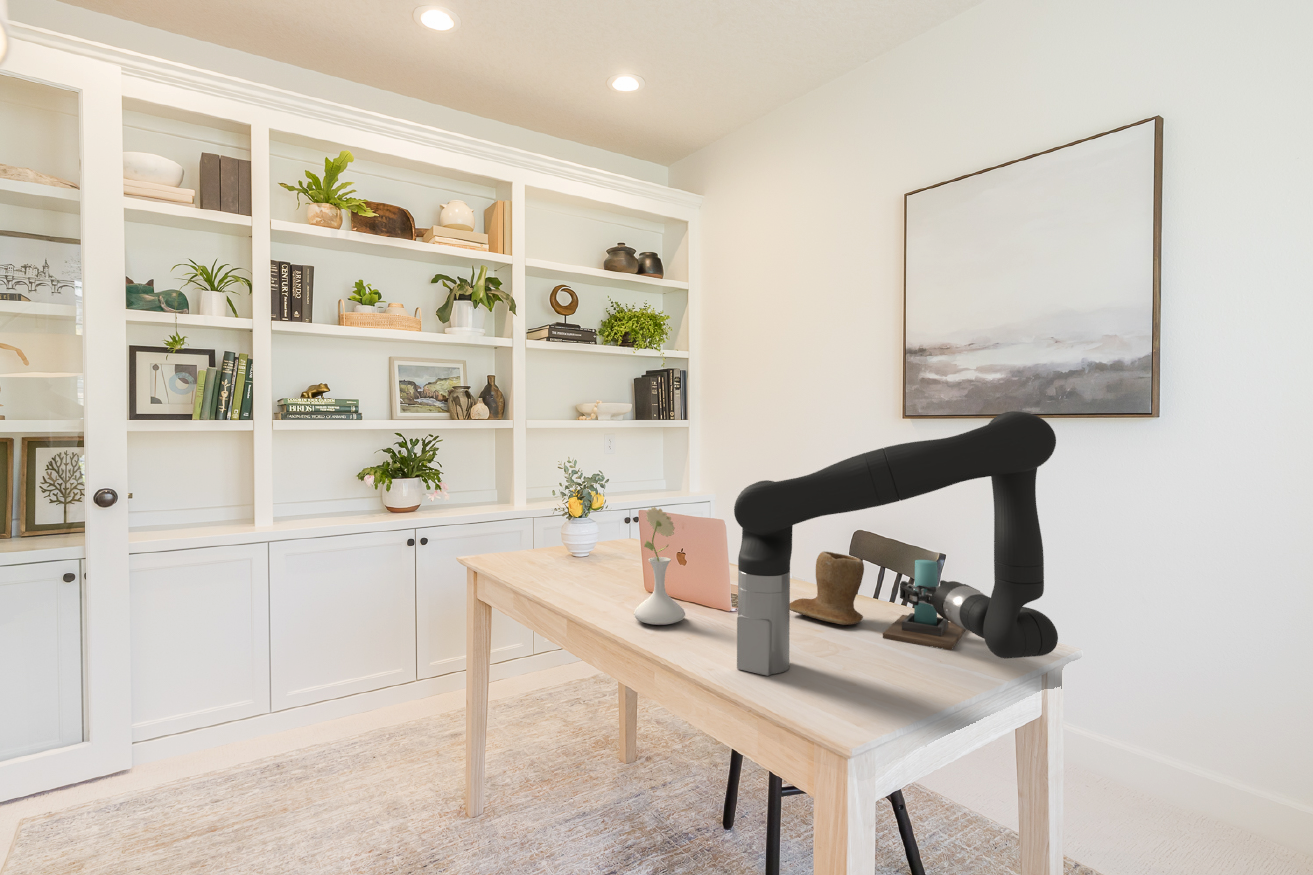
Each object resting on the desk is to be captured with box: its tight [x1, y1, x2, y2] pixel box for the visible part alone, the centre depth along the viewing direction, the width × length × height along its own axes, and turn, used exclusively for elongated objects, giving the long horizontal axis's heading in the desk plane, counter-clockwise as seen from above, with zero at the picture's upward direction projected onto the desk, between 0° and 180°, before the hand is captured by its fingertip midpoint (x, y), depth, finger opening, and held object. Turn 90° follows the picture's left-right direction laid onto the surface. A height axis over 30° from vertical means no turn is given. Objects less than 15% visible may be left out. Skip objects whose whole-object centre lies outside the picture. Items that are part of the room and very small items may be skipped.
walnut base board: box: [882, 612, 966, 651], centre depth 138 cm, size 16×13×3 cm
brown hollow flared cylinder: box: [790, 551, 865, 625], centre depth 149 cm, size 15×12×15 cm
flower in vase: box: [633, 506, 686, 626], centre depth 147 cm, size 13×11×25 cm
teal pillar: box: [913, 559, 939, 626], centre depth 138 cm, size 4×4×14 cm
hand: (921, 585), depth 140 cm, fingers open, 8 cm apart
